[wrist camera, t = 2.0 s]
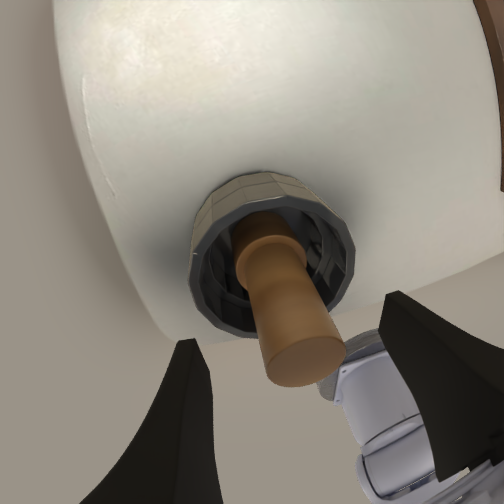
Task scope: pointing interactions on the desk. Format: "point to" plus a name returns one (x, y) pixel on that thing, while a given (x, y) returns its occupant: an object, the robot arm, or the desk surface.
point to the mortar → (221, 257)
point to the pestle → (285, 302)
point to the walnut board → (495, 50)
